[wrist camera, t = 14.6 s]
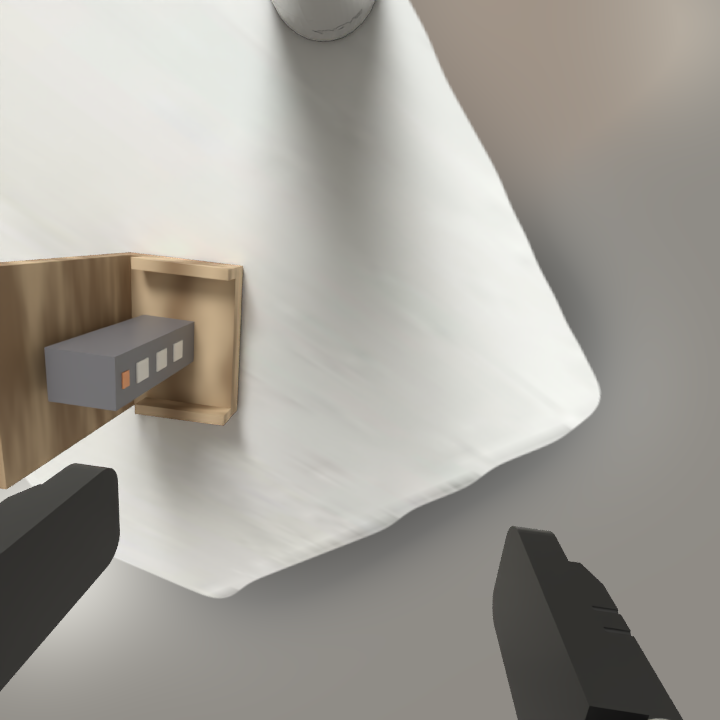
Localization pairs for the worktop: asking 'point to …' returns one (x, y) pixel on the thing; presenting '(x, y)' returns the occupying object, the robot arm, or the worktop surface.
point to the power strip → (118, 361)
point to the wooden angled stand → (99, 310)
